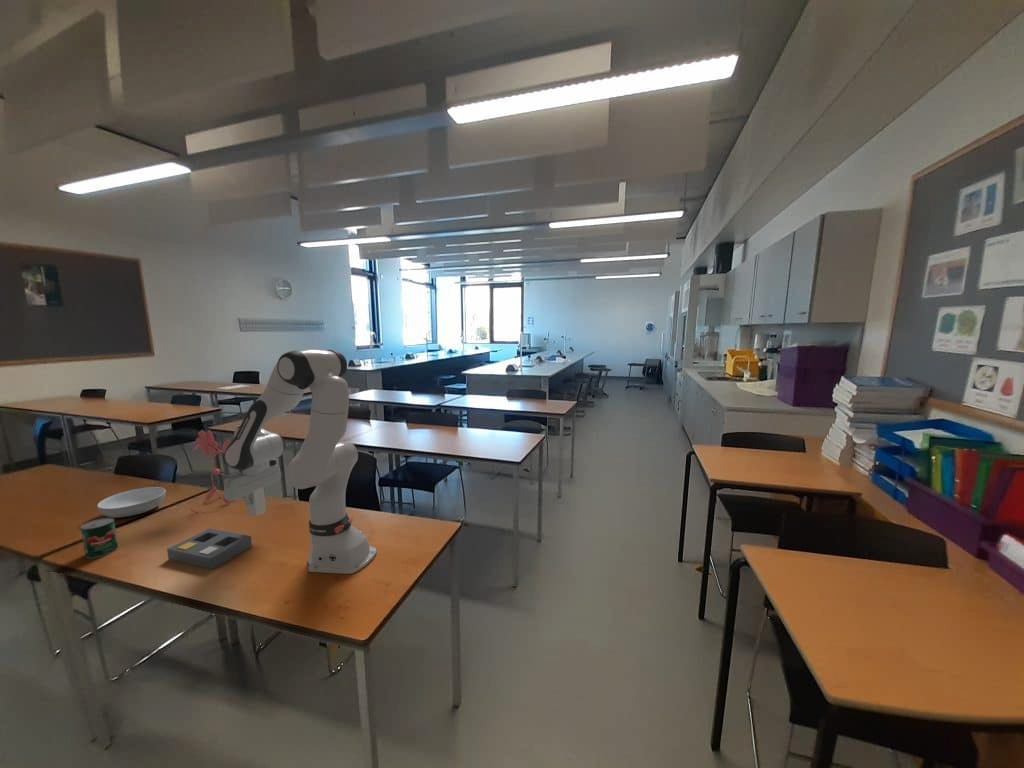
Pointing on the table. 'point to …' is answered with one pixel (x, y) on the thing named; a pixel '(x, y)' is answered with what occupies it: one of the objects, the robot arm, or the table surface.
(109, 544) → the canned tomato
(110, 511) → the serving bowl
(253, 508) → the plug
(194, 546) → the socket block
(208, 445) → the figurine
